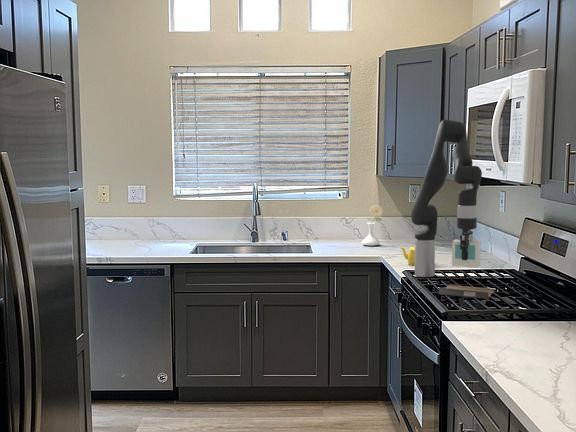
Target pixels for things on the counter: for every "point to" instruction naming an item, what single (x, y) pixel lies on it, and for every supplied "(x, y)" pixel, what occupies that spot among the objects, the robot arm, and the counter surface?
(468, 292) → the shelf plank
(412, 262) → the teapot
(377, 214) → the flower in vase
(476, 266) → the carton
